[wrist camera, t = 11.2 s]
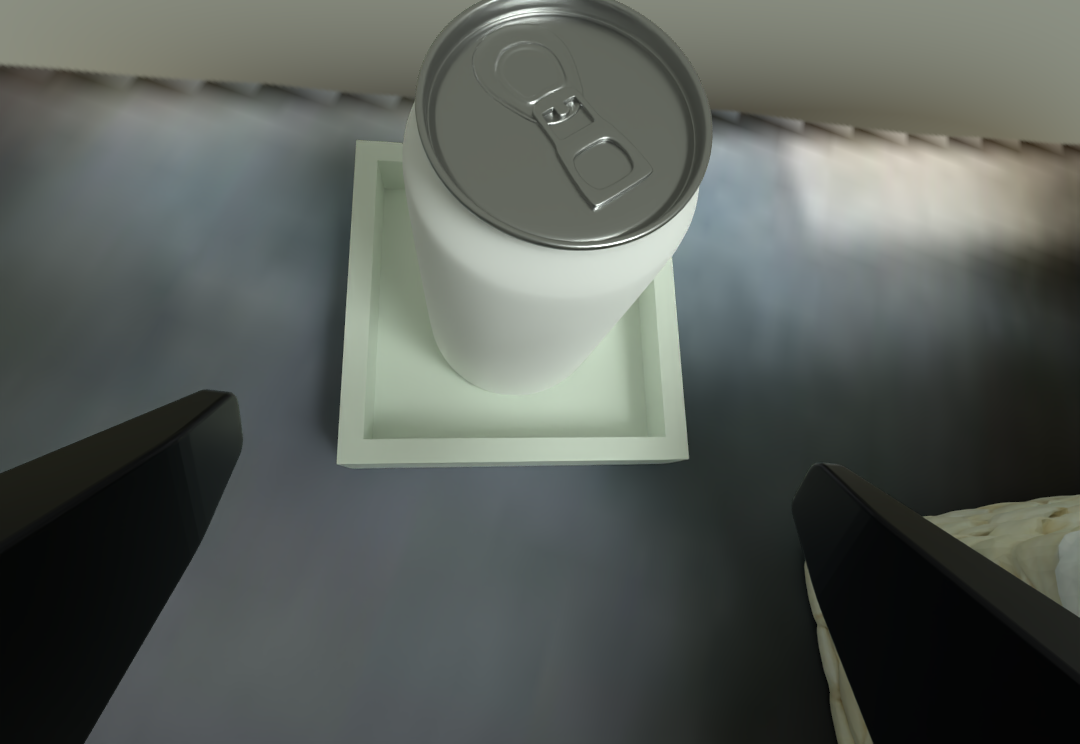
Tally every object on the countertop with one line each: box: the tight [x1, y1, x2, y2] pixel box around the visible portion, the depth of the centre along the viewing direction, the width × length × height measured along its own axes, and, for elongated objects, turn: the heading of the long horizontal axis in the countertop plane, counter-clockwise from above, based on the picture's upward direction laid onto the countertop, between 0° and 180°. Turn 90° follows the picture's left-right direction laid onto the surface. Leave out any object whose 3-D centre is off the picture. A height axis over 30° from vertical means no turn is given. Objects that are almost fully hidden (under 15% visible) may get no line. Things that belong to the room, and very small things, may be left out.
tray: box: [337, 140, 689, 469], centre depth 21 cm, size 12×12×2 cm
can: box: [402, 0, 712, 395], centre depth 16 cm, size 6×6×12 cm
